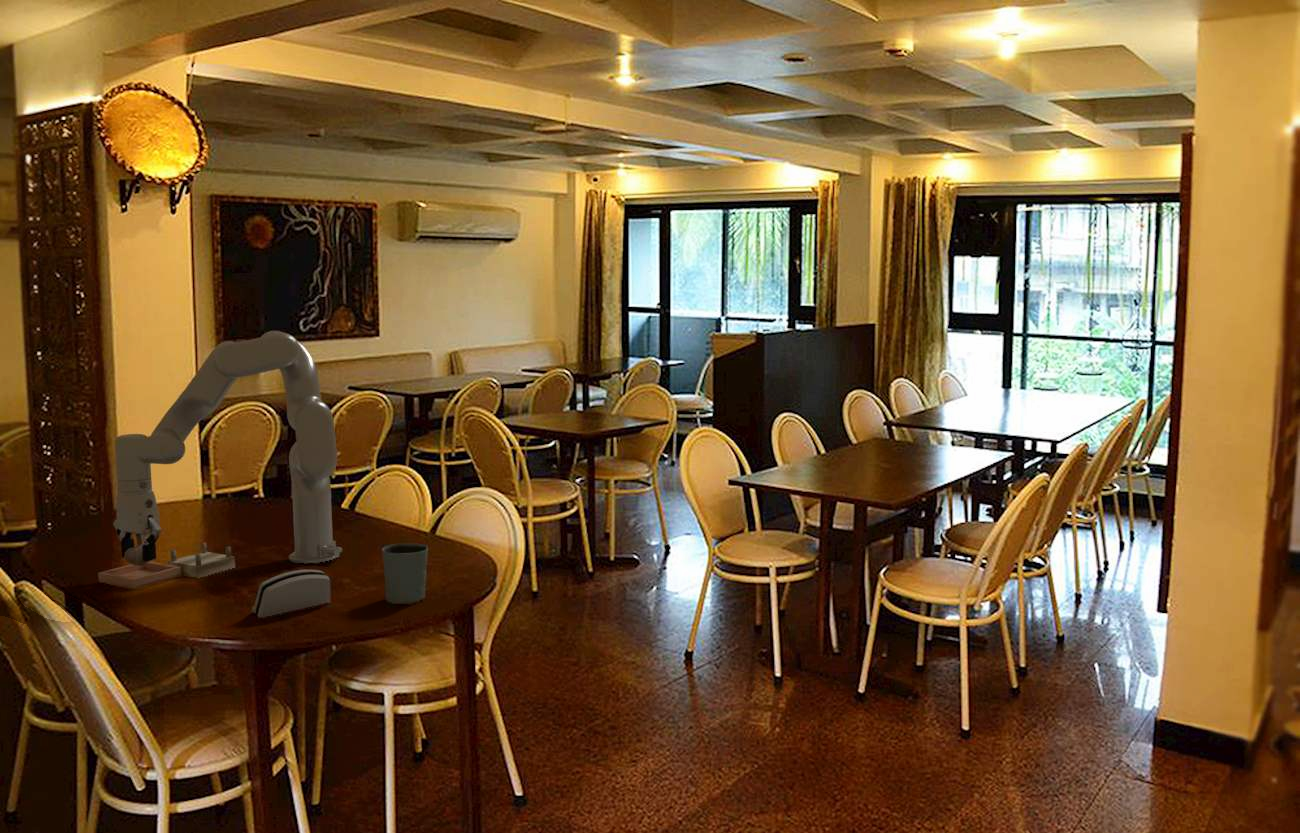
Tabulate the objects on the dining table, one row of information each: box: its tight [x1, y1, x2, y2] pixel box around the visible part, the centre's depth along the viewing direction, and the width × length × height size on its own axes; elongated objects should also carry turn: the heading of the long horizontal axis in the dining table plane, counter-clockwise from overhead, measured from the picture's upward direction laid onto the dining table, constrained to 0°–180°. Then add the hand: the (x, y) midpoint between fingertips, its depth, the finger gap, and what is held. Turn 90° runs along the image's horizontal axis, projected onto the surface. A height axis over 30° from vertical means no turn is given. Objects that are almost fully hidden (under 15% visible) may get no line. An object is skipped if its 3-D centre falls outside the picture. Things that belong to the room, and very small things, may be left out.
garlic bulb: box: [123, 534, 152, 566], centre depth 269 cm, size 8×7×8 cm
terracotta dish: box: [97, 560, 182, 590], centre depth 270 cm, size 13×13×2 cm
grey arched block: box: [251, 569, 331, 618], centre depth 245 cm, size 17×5×10 cm, turn 133°
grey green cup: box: [381, 542, 429, 603], centre depth 252 cm, size 10×10×12 cm
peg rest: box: [167, 542, 236, 579], centre depth 278 cm, size 11×11×6 cm
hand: (138, 557), depth 269 cm, fingers closed on garlic bulb, 7 cm apart
